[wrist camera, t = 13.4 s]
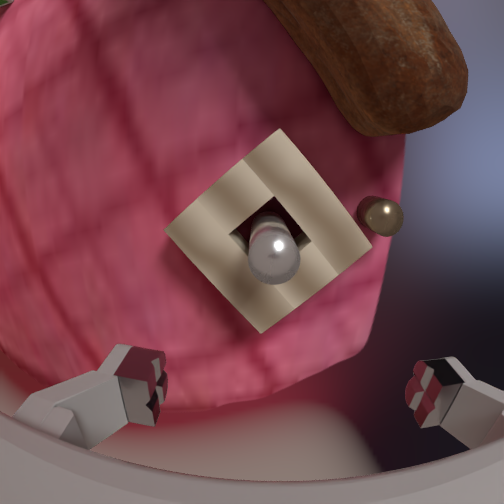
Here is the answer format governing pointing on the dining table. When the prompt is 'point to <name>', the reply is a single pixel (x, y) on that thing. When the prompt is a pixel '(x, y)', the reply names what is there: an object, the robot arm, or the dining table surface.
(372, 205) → the short bronze pin
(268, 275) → the tall steel pin
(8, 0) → the skincare box
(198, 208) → the birch block
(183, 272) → the dining table surface
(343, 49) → the bread
